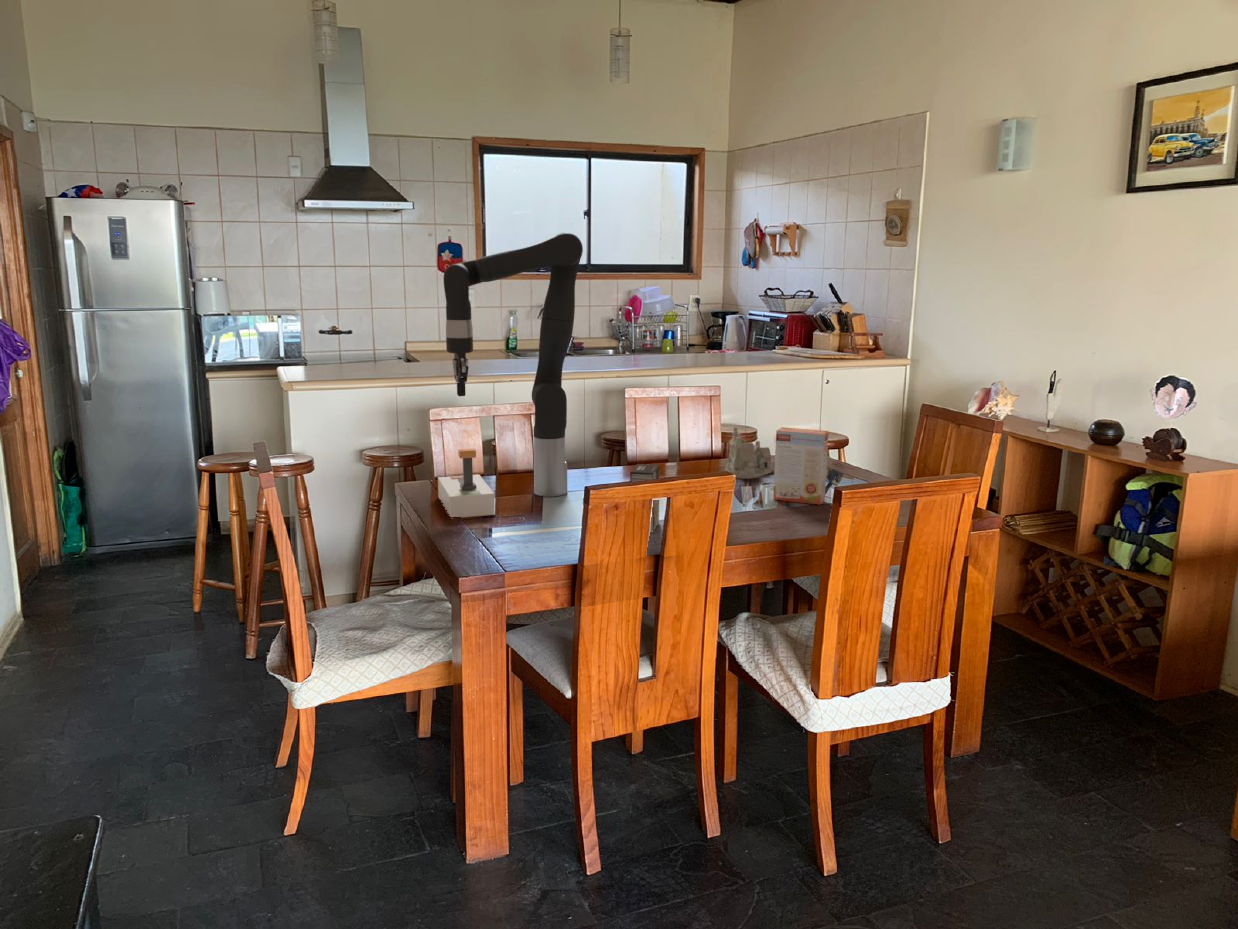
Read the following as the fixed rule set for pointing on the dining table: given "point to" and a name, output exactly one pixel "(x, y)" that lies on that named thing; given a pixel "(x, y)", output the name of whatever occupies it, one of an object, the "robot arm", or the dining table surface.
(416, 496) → the dining table surface
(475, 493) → the switch panel
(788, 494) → the cracker box
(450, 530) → the dining table surface
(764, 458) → the ceramic cottage
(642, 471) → the coffee box
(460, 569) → the dining table surface
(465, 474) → the breaker knob
